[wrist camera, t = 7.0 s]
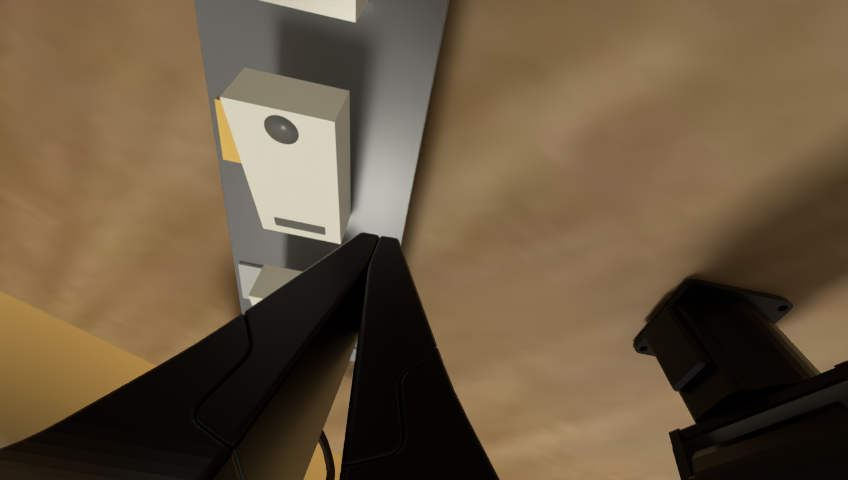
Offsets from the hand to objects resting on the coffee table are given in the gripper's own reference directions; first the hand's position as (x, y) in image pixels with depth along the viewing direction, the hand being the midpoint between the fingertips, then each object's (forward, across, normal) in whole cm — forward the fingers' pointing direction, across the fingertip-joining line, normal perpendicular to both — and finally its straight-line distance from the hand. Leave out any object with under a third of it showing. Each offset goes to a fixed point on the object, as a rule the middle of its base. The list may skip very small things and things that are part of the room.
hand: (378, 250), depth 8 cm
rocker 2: (+5, +4, +1) cm, 7 cm away
